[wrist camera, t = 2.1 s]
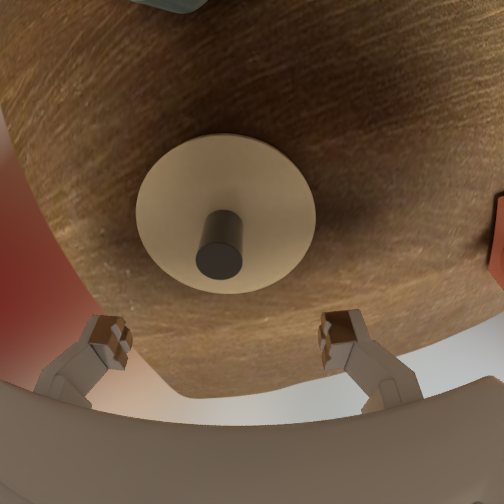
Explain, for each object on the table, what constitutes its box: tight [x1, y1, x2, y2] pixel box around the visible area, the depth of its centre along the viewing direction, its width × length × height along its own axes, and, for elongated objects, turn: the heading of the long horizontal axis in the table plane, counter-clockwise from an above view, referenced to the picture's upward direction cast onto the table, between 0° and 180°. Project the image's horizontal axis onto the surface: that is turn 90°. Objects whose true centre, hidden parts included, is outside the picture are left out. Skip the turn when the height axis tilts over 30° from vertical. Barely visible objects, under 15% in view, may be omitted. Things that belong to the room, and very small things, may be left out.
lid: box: [136, 133, 316, 294], centre depth 16 cm, size 11×11×5 cm
